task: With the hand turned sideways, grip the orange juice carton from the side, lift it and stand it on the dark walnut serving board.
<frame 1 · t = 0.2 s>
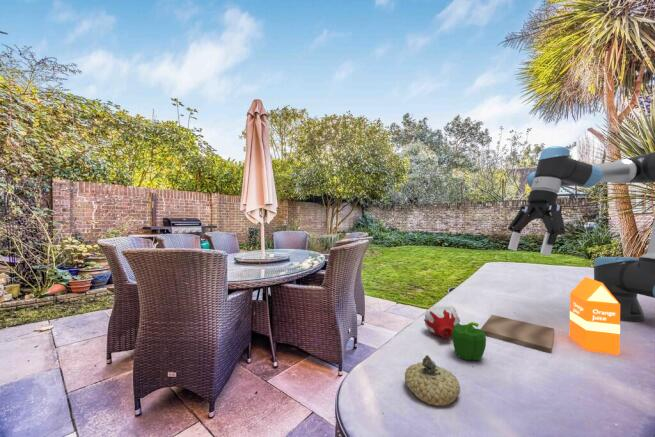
hand: (527, 252, 88), 27 cm above the table, fingers open, 13 cm apart
orange juice: (592, 346, 79), on the table
acorn cap: (431, 391, 59), on the table
board: (517, 333, 87), on the table
candle: (442, 335, 86), on the table
bell pepper: (467, 357, 73), on the table
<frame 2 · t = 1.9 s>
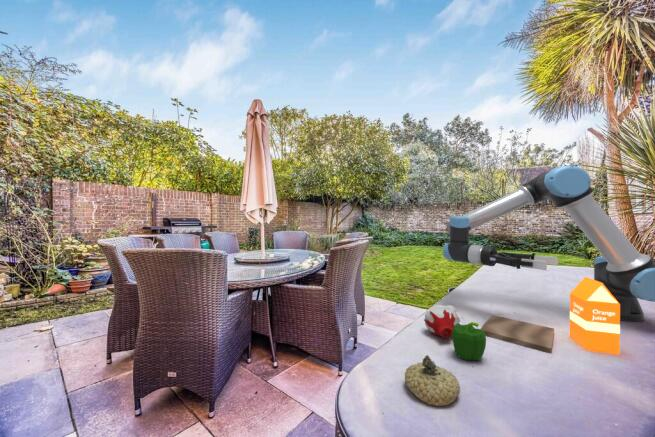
hand: (552, 263, 87), 23 cm above the table, fingers open, 13 cm apart
nothing on the table moved.
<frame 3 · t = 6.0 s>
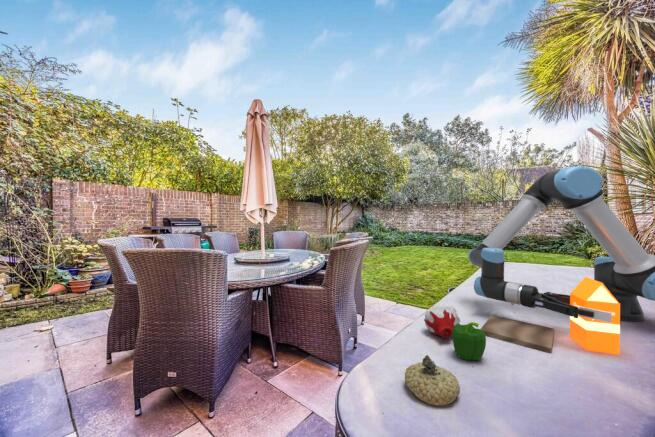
hand: (613, 313, 76), 11 cm above the table, fingers closed on orange juice, 10 cm apart
orange juice: (592, 346, 79), on the table, touching gripper
everything else where it was.
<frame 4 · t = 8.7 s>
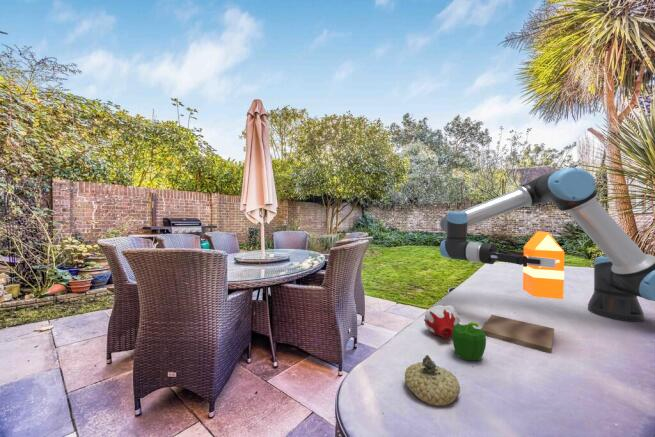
hand: (559, 261, 81), 25 cm above the table, fingers closed on orange juice, 10 cm apart
orange juice: (541, 294, 84), point 14 cm above the table, touching gripper
everything else where it was.
when the fingers open (14 cm above the table, at t = 11.6 s): orange juice drops 1 cm, resting on board.
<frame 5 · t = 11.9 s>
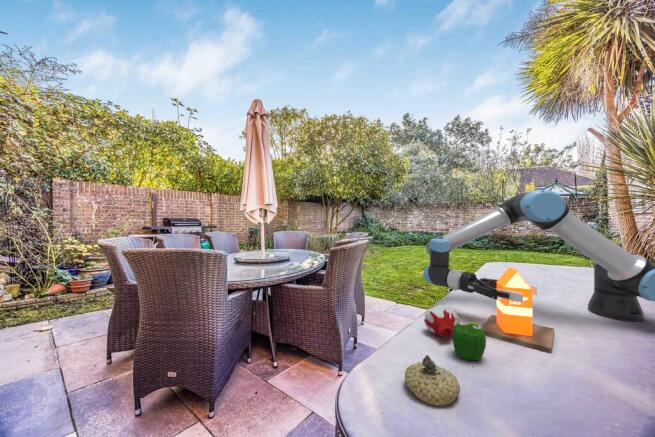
hand: (529, 294, 84), 14 cm above the table, fingers open, 13 cm apart
orange juice: (513, 329, 87), point 1 cm above the table, touching board, gripper
everything else where it was.
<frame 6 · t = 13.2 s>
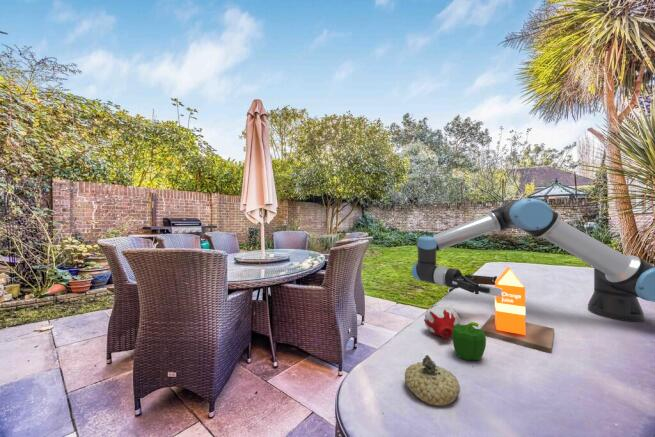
hand: (509, 289, 89), 14 cm above the table, fingers open, 13 cm apart
orange juice: (509, 329, 87), point 2 cm above the table, touching gripper
everything else where it was.
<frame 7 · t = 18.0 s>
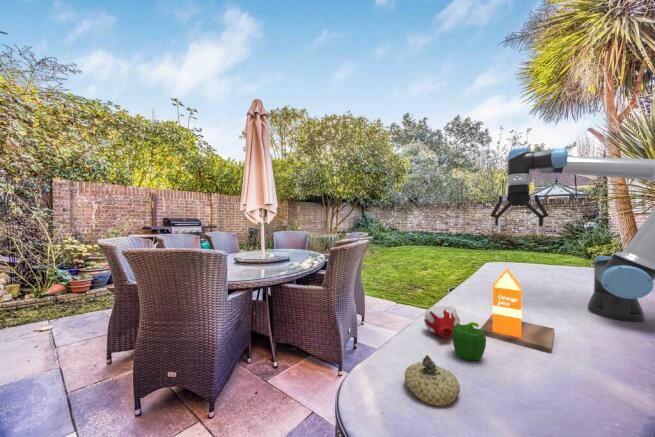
hand: (517, 233, 114), 32 cm above the table, fingers open, 13 cm apart
orange juice: (506, 330, 87), point 1 cm above the table, touching board
everything else where it was.
at the end: orange juice 3.9 cm from the board (horizontally); orange juice tilted 0°; orange juice touching board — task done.
